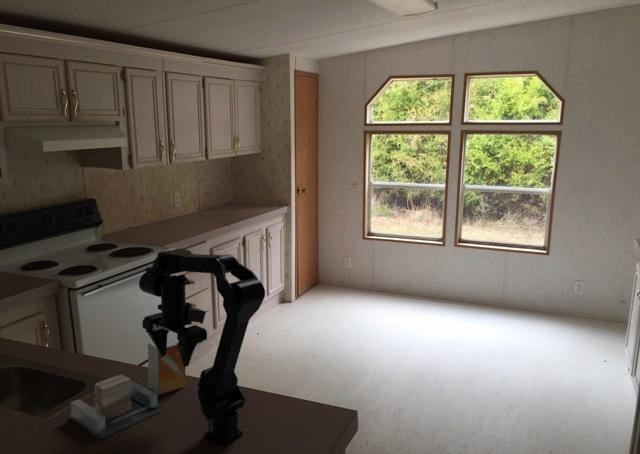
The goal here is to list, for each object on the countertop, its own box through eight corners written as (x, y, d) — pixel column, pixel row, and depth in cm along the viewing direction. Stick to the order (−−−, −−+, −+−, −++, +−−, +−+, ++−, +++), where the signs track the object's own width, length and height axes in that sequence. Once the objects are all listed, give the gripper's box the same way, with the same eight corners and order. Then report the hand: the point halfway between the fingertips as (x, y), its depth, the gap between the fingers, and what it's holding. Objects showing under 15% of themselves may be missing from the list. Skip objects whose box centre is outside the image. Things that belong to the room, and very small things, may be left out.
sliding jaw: (157, 405, 127) (157, 394, 127) (150, 408, 126) (150, 396, 125) (131, 390, 134) (130, 379, 134) (124, 393, 133) (123, 382, 132)
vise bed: (162, 411, 127) (162, 394, 127) (99, 439, 114) (98, 420, 114) (131, 393, 136) (130, 377, 135) (69, 418, 123) (68, 400, 122)
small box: (159, 396, 135) (157, 349, 133) (148, 387, 139) (147, 342, 137) (186, 386, 140) (185, 342, 139) (175, 379, 145) (174, 335, 143)
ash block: (131, 409, 126) (130, 378, 125) (104, 420, 120) (103, 389, 119) (122, 404, 128) (121, 374, 127) (96, 414, 123) (94, 383, 122)
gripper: (224, 301, 124) (224, 361, 127) (177, 287, 136) (178, 342, 138) (186, 311, 116) (188, 376, 118) (140, 295, 127) (142, 354, 129)
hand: (174, 361), depth 126 cm, fingers open, 9 cm apart
